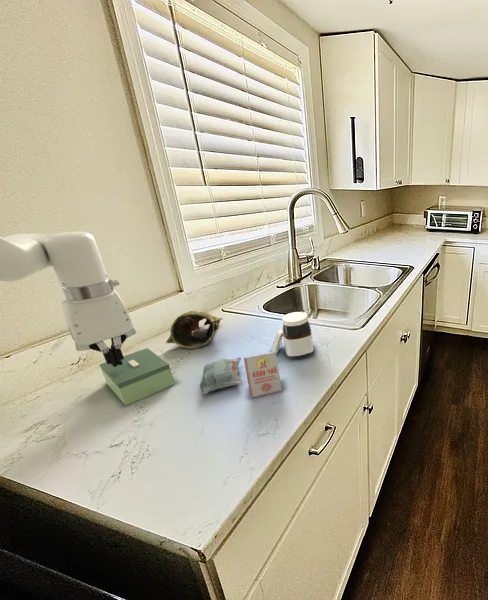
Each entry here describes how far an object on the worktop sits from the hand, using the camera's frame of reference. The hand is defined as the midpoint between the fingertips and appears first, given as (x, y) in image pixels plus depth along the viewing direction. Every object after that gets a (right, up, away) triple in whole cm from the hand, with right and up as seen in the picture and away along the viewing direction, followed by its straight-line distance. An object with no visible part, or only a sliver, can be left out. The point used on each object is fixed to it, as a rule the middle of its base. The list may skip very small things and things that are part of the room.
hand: (116, 363), depth 76 cm
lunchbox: (-1, -5, 0) cm, 5 cm away
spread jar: (+35, -1, +19) cm, 40 cm away
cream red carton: (+34, -7, +2) cm, 35 cm away
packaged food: (+22, -6, +6) cm, 24 cm away
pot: (+4, +2, +27) cm, 27 cm away
